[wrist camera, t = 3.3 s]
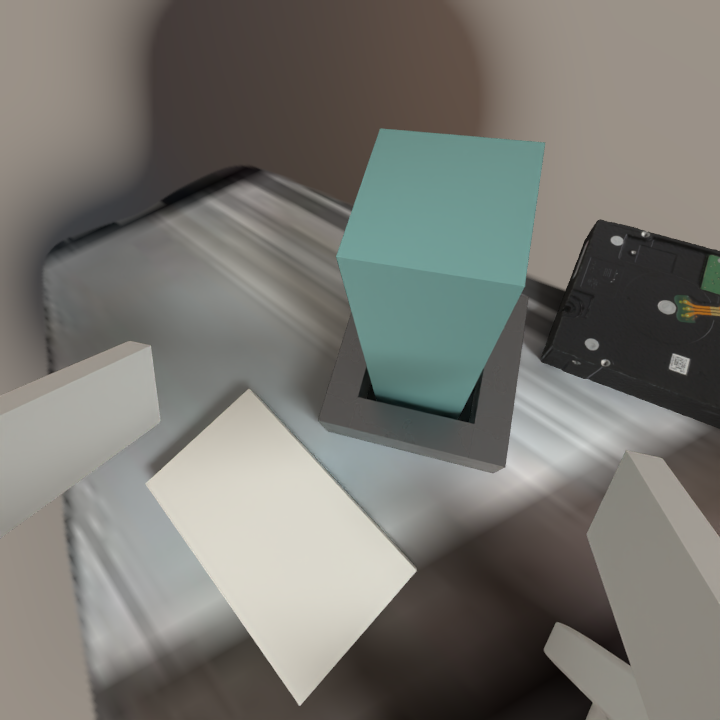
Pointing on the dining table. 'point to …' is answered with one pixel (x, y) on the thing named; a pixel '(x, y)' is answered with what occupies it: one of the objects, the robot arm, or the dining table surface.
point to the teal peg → (437, 260)
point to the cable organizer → (596, 675)
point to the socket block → (423, 430)
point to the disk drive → (643, 320)
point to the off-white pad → (280, 541)
